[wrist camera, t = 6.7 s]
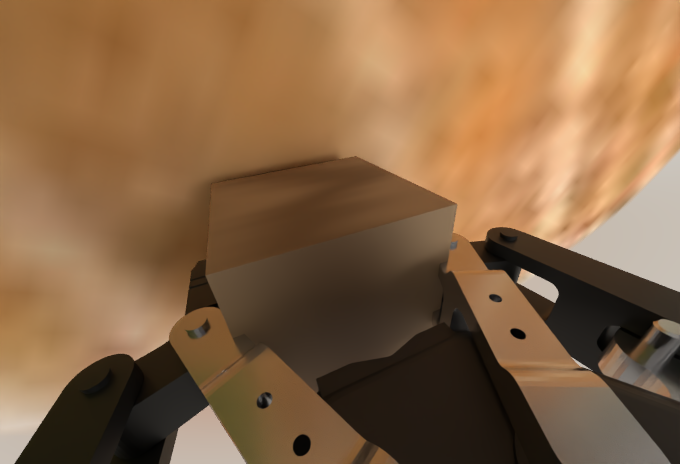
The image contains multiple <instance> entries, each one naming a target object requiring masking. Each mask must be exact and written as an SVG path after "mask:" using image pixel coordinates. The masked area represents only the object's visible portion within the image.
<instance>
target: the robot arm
mask: <svg viewBox="0 0 680 464" xmlns="http://www.w3.org/2000/svg"><path fill="white" fill-rule="evenodd" d="M521 268H522V269H524V270H526V271H529V272H531V273H533V274H535V275H537V276H539V277H541V278H543V279H545V280H547V281H549V282H551V283H553V284H554V285H555V286H556V288H557V289H558V292H559V296H558V298H557V300H556V303H553V302H552V301H550V300H548V299H546V298H544V297H542V296H541V295H539V294H537V293H535V292H533V291H531V290H529V289H527V288H526V287H524V286H522V285H520V284H518V283H517V280H518V277H519V274H520V271H521ZM205 274H206V260H202V261H199V262H198V263H197V264H196V265H195V267H194V268H193V269H192V271H191V278H190V281H191V282H190V285H189V291H188V298H187V305H186V312H185V316H184V317H182V318H181V319H180V320H179V321H178V322H177V323H176V324H175V325H174V326H173V328H172V330H171V332H170V335H169V341H168V342H166V343H165V344H164V345H162V346H160V347H159V348H157V349H155V350H154V351H152V352H150V353H148V354H147V355H145V356H143V357H141V358H140V359H138V360H136V361H134V360H133V358H132V357H131V356H129V355H127V354H115V355H111V356H108V357H105V358H103V359H100V360H98V361H96V362H95V363H93V364H91V365H90V366H88V367H87V368H85V369H84V370H82V371H81V372H80V373H79V374H77V375H76V376H75V377H74V378H73V379H72V380H71V381H70V382H69V383H68V385H67V386H66V387H65V388H64V390H63V391H62V393H61V394H60V396H59V397H58V399H57V400H56V402H55V403H54V405H53V406H52V408H51V409H50V411H49V412H48V414H47V415H46V417H45V418H44V420H43V421H42V423H41V424H40V426H39V427H38V429H37V431H36V432H35V434H34V435H33V437H32V438H31V440H30V441H29V443H28V445H27V446H26V447H25V449H24V450H23V452H22V453H21V455H20V457H19V458H18V459H17V461H16V462H15V464H169V463H170V460H171V456H172V452H173V448H174V444H175V440H176V436H177V431H178V428H179V427H180V426H182V425H183V424H184V423H186V422H187V421H188V420H190V419H191V418H192V417H194V416H195V415H196V414H198V413H199V412H200V411H201V410H203V409H204V408H206V407H207V406H208V405H210V407H211V409H212V410H213V411H214V413H215V415H216V416H217V418H218V420H219V421H220V423H221V424H222V426H223V427H224V429H225V430H226V432H227V433H228V435H229V437H230V438H231V440H232V441H233V443H234V444H235V446H236V448H237V449H238V451H239V453H240V454H241V456H242V457H243V459H244V460H245V462H246V464H680V292H677V291H675V290H672V289H670V288H667V287H665V286H662V285H659V284H657V283H654V282H651V281H649V280H646V279H644V278H641V277H639V276H636V275H633V274H631V273H628V272H625V271H623V270H620V269H617V268H615V267H612V266H610V265H607V264H605V263H602V262H599V261H597V260H593V259H592V258H589V257H586V256H584V255H581V254H578V253H576V252H573V251H571V250H568V249H565V248H563V247H560V246H558V245H555V244H552V243H550V242H547V241H545V240H542V239H539V238H537V237H534V236H531V235H529V234H526V233H524V232H521V231H518V230H515V229H511V228H504V227H498V228H492V229H490V230H489V231H488V232H487V236H486V240H485V241H477V242H469V241H468V240H467V239H466V238H465V237H463V236H461V235H458V234H455V233H452V240H451V246H450V252H449V258H448V261H446V262H443V263H440V264H439V271H438V277H439V280H440V282H441V285H442V288H443V296H442V302H441V308H440V309H438V310H436V311H433V313H432V321H431V322H432V325H433V327H431V328H429V329H427V330H425V331H422V332H420V333H418V334H416V335H415V336H414V337H413V338H411V339H410V340H409V341H408V342H407V343H406V344H404V345H403V346H402V347H401V348H400V349H399V350H397V351H396V352H395V353H394V354H393V355H391V356H388V357H383V358H378V359H372V360H366V361H360V362H354V363H350V364H348V365H346V366H344V367H341V368H339V369H337V370H335V371H332V372H330V373H328V374H326V375H323V376H321V377H319V378H317V379H316V382H317V386H318V392H317V393H316V392H315V391H313V390H312V389H311V388H310V387H309V386H308V385H307V384H306V383H305V382H304V381H303V380H302V379H301V378H300V377H299V376H298V375H297V374H296V373H295V372H294V371H293V370H292V369H291V368H290V367H289V366H287V365H286V364H285V363H284V362H283V361H282V360H281V359H280V358H279V357H278V356H277V355H276V354H275V353H274V352H273V351H272V350H271V349H270V348H269V347H268V346H267V345H265V344H264V343H262V342H259V343H258V344H257V345H256V344H254V343H253V342H252V341H251V340H250V339H249V338H248V337H247V336H246V335H245V334H243V335H240V336H237V337H234V338H232V336H231V333H230V331H229V329H228V326H227V324H226V322H225V319H224V317H223V315H222V313H221V310H220V308H219V306H218V303H217V301H216V299H215V296H214V294H213V292H212V290H211V287H210V285H209V283H208V280H207V278H206V276H205ZM571 357H572V358H574V359H576V360H577V361H579V362H580V363H582V364H583V365H585V366H587V367H588V368H590V369H591V370H593V371H591V370H589V369H586V368H583V367H580V366H579V365H578V364H577V363H576V362H575V361H574V360H573V359H572V358H571Z"/></svg>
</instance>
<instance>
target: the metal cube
mask: <svg viewBox="0 0 680 464" xmlns="http://www.w3.org/2000/svg"><path fill="white" fill-rule="evenodd" d="M456 208H457V204H456V203H454V202H452V201H450V200H448V199H446V198H443V197H441V196H439V195H437V194H435V193H433V192H431V191H429V190H426V189H424V188H422V187H420V186H418V185H416V184H414V183H412V182H409V181H407V180H405V179H403V178H401V177H399V176H397V175H395V174H392V173H390V172H388V171H386V170H384V169H382V168H380V167H378V166H375V165H373V164H371V163H369V162H367V161H365V160H363V159H361V158H358V157H356V156H355V157H350V158H344V159H339V160H334V161H329V162H323V163H318V164H313V165H307V166H302V167H297V168H291V169H286V170H281V171H276V172H270V173H265V174H260V175H254V176H249V177H244V178H238V179H233V180H228V181H223V182H217V183H212V184H211V199H210V214H209V229H208V244H207V259H206V274H205V276H206V278H207V280H208V283H209V285H210V287H211V290H212V292H213V294H214V296H215V299H216V301H217V303H218V306H219V308H220V310H221V313H222V315H223V317H224V319H225V322H226V324H227V326H228V329H229V331H230V333H231V336H232V338H234V337H237V336H240V335H243V334H245V335H246V336H247V337H248V338H249V339H250V340H251V341H252V342H253V343H254V344H256V345H257V344H258V343H259V342H262V343H264V344H265V345H267V346H268V347H269V348H270V349H271V350H272V351H273V352H274V353H275V354H276V355H277V356H278V357H279V358H280V359H281V360H282V361H283V362H284V363H285V364H286V365H287V366H289V367H290V368H291V369H292V370H293V371H294V372H295V373H296V374H297V375H298V376H299V377H300V378H301V379H302V380H303V381H304V382H305V383H306V384H307V385H308V386H309V387H310V388H311V389H312V390H313V391H315V392H316V393H317V392H318V386H317V382H316V379H317V378H319V377H321V376H323V375H326V374H328V373H330V372H332V371H335V370H337V369H339V368H341V367H344V366H346V365H348V364H350V363H354V362H360V361H366V360H372V359H378V358H383V357H388V356H391V355H393V354H394V353H395V352H396V351H397V350H399V349H400V348H401V347H402V346H403V345H404V344H406V343H407V342H408V341H409V340H410V339H411V338H413V337H414V336H415V335H416V334H418V333H420V332H422V331H425V330H427V329H429V328H431V327H433V325H432V322H431V321H432V313H433V311H436V310H438V309H440V308H441V302H442V296H443V288H442V285H441V282H440V280H439V277H438V271H439V264H440V263H443V262H446V261H448V258H449V252H450V246H451V240H452V233H453V227H454V221H455V215H456Z"/></svg>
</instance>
